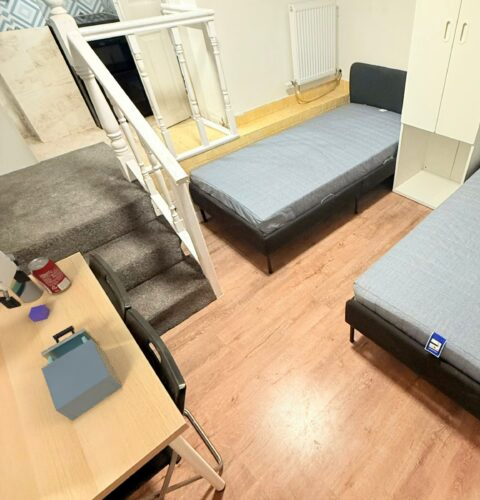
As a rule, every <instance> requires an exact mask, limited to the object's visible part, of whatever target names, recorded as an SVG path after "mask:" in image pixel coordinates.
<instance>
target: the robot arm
mask: <svg viewBox="0 0 480 500" xmlns="http://www.w3.org/2000/svg"><path fill="white" fill-rule="evenodd" d="M21 270H22V271H21ZM13 278H14V279H15V280H16V281H17V282H18V283H24V282H28V281H30V280H32V279H31V277H30V276H29V275H28V274H26V272H25V271H24V270H23V267H22V266H20V264H19V261H18V260H17V259H16V257H15V256H14V254H13V253H8V254H6V253H4V252H3V251H1V250H0V293H2V295H3V296H0V304H1V305H2V306H3V307H5V308H6V309H8V310H11V309H15V308H20V307H22V303H21V302H20V301H19V300H18V299H16V298H15V297H14V296H12V295H11V296H10V293H9V291H8V290H9V287H10V285H11V282H12V280H13Z"/></svg>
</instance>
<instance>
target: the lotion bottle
mask: <svg viewBox="0 0 480 500" xmlns="http://www.w3.org/2000/svg"><path fill="white" fill-rule="evenodd" d="M21 271H23V269H22V270H21ZM8 290H10V291H11V292H12V293H13V294H14V295H16V296H17V297H18V298H19V299H20V300H21V301H23V302H24V303H33V302H35V301H37V300H39V298H40V297H41V296H42V295H43V290H42V288H41V287H40V286H38V284H36V283H35V281H34V280H33V279H31V280H30V281H28V282H24V283H18V282H17V281H16V280H15V279H14V278H13V280H12V282H11V285H10V287H9V288H8Z"/></svg>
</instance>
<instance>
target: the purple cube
mask: <svg viewBox="0 0 480 500" xmlns="http://www.w3.org/2000/svg"><path fill="white" fill-rule="evenodd" d="M50 311H51V309H50V308H48V306H47V305H45V304H40V305H36V306H32V307H31V308H30V309H29V312H28V315H27V316H28V318H29V319H30V320H31V321H32V322H33V323H36V322H40V321H43V320H47V319H48V317H49V314H50Z"/></svg>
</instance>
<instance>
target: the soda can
mask: <svg viewBox="0 0 480 500" xmlns="http://www.w3.org/2000/svg"><path fill="white" fill-rule="evenodd" d="M27 268H28V272H29V274H30V275H31V276H32V277H33V279H35V280H36V282H37V283H39V284H40V285H41V287H43V289H45V291H47V293H49V294H50V295H57V294H60V293H62V292H64V291H66V290H67V289H68V288H69V287H70V285H71V280H70V278H69V277H68V276H67V275H66V274H65V273H64V271H63V270H61V268H60V267H59V265H57V263H56V262H55V260H53V259H50V258H48V257H47V256H40V257H36V258H34V259H33V260H31V261H30V262H29V263H28V265H27Z"/></svg>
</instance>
